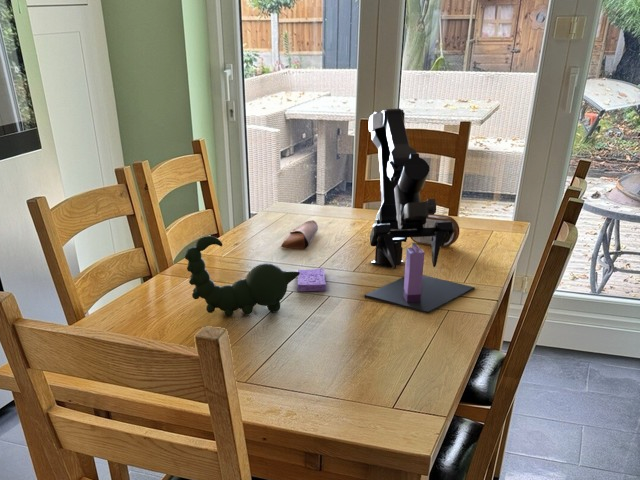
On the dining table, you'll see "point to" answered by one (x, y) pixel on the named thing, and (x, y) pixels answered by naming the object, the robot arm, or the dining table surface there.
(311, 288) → the sponge
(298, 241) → the sunglasses case
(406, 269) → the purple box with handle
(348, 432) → the dining table surface
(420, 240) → the tin
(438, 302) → the placemat
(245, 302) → the toy figurine
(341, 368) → the dining table surface
